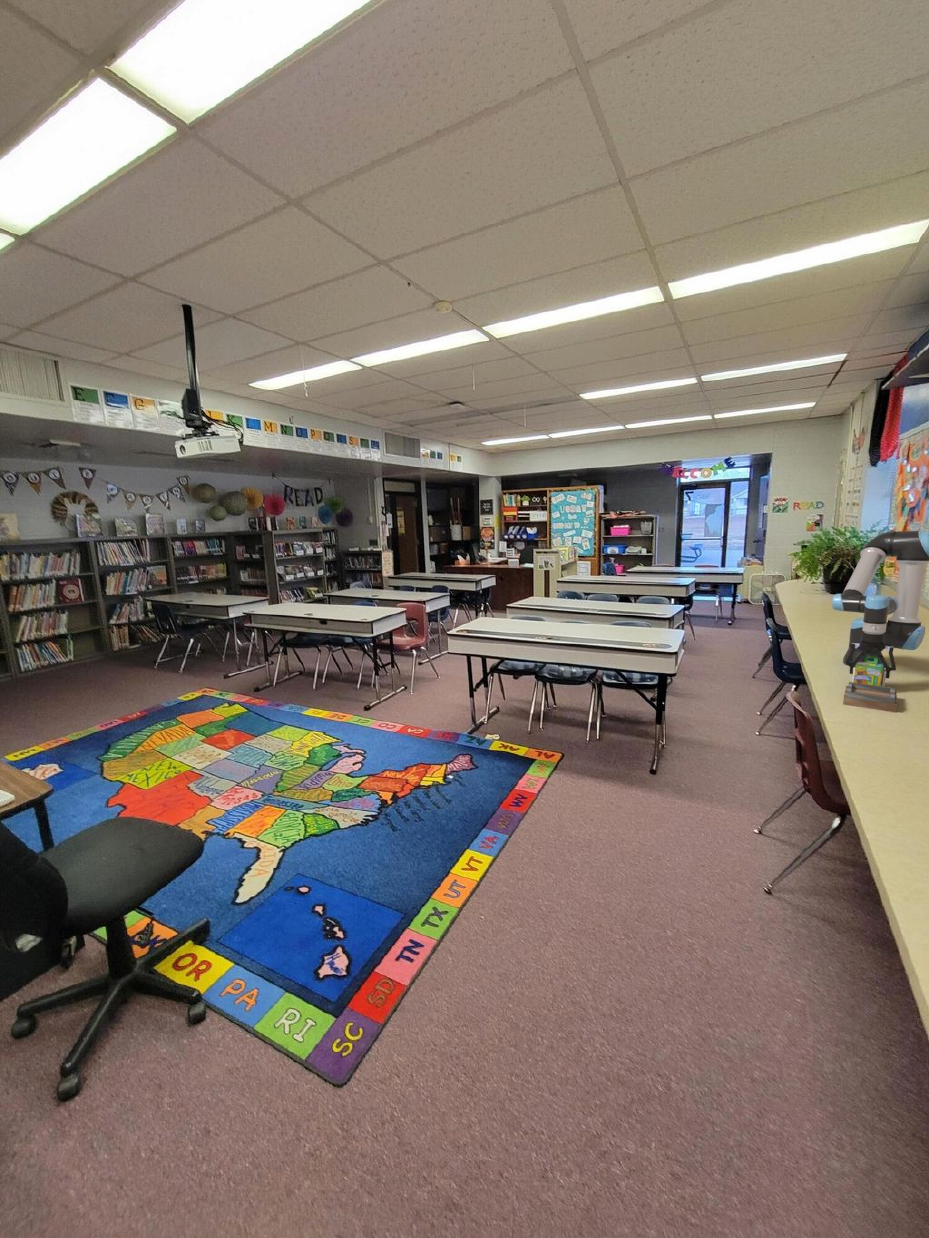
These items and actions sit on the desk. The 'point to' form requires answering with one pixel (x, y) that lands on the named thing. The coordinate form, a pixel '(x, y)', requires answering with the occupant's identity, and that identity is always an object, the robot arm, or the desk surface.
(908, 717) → the desk surface
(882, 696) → the square frame
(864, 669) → the chalk box
